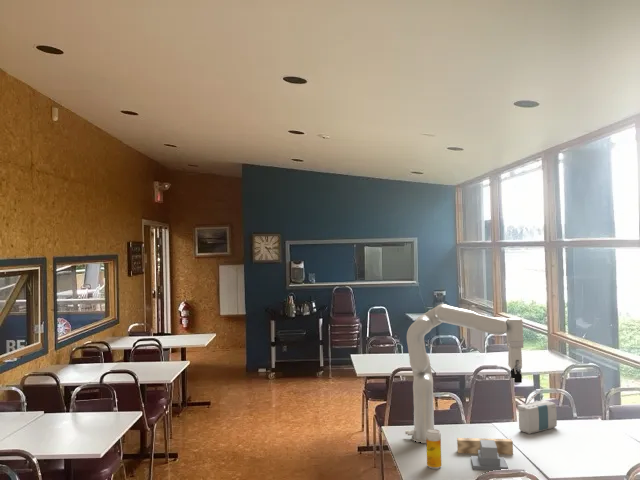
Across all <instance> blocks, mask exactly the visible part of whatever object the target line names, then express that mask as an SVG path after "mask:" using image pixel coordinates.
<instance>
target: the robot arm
mask: <svg viewBox="0 0 640 480" xmlns="http://www.w3.org/2000/svg"><path fill="white" fill-rule="evenodd" d="M442 323H445V324H450V325H454V326H457V327H458V326H459V327H463V328H465V329H470V330H475V331H479V332H481V333H482V332H483V333H487V334H491V335H496V336H502V335H504V334H506V347H507V348H508V352H507V353H508V355H507V356H508V361H507V362H508V363H507V364H508V367H509V369H510V378H511V379H514V381H513V382H514V383H515V384H516V383H522V382H523V380H522V379H523V378H522V376H523V375H522V369H523V356H522V355H523V354H522V349H523V348H524V328H523V327H524V326H523V325H524V324H523V323H524V322H523V319H522V318H520V317H519V318H518V317H507V318H506V317H499V316H496V317H491V316H486V315H482V314H479V313H477V312H475V311H473V310H469V309H465V308H459V307H456V306H452V305H448V304H446V303H440V304H438V305H436V306H435V307H434V308H431V309H429V310H428V311H427V312H425V313H422V314H421V315H419V316H418V317H417V318H416V319H415V321H414V322H412V323H411V325H410V326H409V327H408V330H407V332H406V343H407V351H408V357H409V365H410V368H411V370H412V376H413V382H412V392H413V394H412V395H413V417H414V418H413V420H414V421H413V423H414V427H413V429H412V430H407V429H406V430H404V433H405V435H407V436H411V440H412V439H413V440H414V441H413V440H412V441H413V442H415V441H416V442H415V443H418V442H421V443H420V444H426V433H427V430H430V429H435V417H434V416H435V414H434V413H435V412H434V411H435V409H434V378H433V373H432V367H431V363H430V356H429V355H428V353H427V350H426V343H425V336H426V335H427V334H428V333H430V332H431V330H432V329H433V328H435V327H437V326H440V325H441V324H442Z"/></svg>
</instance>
